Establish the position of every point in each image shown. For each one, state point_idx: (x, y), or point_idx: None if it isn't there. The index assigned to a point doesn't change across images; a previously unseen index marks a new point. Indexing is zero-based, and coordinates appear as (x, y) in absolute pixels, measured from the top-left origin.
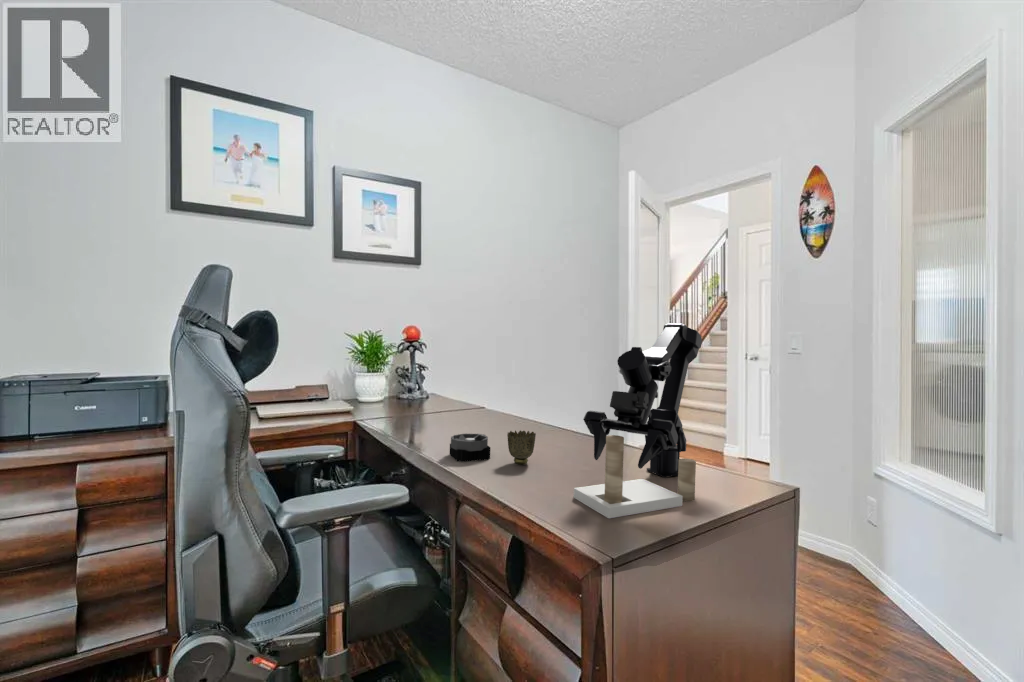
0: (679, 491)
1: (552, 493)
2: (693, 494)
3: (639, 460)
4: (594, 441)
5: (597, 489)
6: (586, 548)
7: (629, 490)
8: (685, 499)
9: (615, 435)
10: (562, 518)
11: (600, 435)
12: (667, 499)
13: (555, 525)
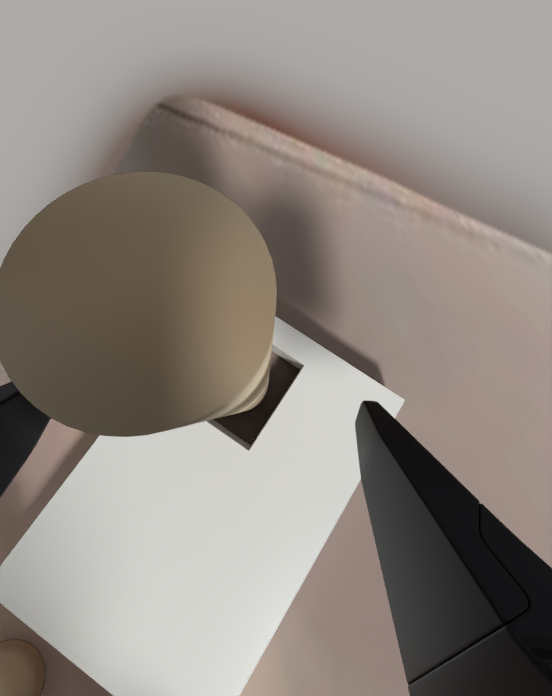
0: (7, 679)
1: (467, 398)
2: None
3: (13, 390)
4: (478, 504)
5: (322, 439)
6: (211, 111)
7: (207, 511)
8: (3, 646)
9: (165, 419)
10: (333, 226)
11: (488, 617)
12: (46, 507)
13: (326, 179)
